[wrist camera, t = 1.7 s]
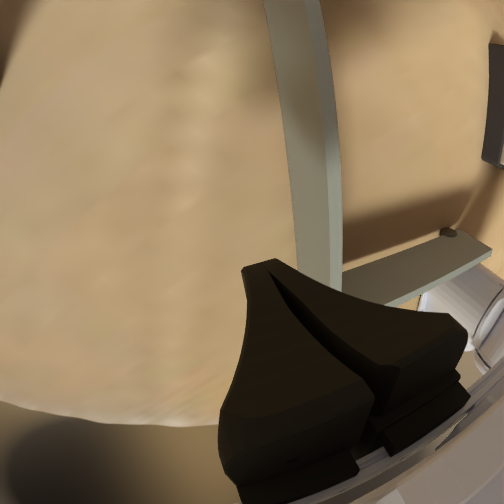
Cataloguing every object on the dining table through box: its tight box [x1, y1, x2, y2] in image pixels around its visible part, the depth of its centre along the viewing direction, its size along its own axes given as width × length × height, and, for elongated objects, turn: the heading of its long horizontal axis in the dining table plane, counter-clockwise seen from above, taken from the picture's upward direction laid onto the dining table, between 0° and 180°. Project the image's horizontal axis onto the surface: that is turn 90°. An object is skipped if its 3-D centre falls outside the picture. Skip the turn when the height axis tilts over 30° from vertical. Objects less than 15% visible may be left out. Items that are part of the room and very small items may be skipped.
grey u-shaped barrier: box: [263, 0, 492, 307], centre depth 16 cm, size 27×20×6 cm
